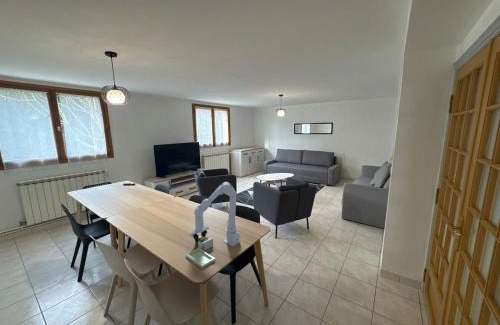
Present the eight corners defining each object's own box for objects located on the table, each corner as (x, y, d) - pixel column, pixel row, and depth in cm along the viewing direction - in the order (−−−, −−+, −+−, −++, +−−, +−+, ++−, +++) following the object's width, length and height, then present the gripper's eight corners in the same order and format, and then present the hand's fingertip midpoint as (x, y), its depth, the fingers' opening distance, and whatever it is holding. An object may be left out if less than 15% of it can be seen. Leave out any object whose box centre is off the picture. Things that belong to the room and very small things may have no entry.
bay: (212, 246, 139) (212, 238, 138) (203, 251, 133) (203, 243, 132) (207, 243, 143) (207, 235, 142) (198, 247, 137) (197, 239, 136)
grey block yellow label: (208, 245, 140) (208, 238, 139) (202, 248, 136) (202, 241, 135) (200, 241, 146) (200, 233, 145) (195, 243, 142) (194, 236, 141)
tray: (215, 260, 123) (214, 258, 123) (202, 268, 116) (201, 266, 116) (198, 250, 134) (198, 247, 134) (186, 256, 127) (185, 254, 127)
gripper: (204, 218, 148) (205, 235, 150) (187, 225, 137) (187, 243, 139) (210, 221, 143) (210, 239, 145) (192, 229, 132) (193, 247, 135)
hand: (200, 241), depth 142 cm, fingers closed on grey block yellow label, 5 cm apart
